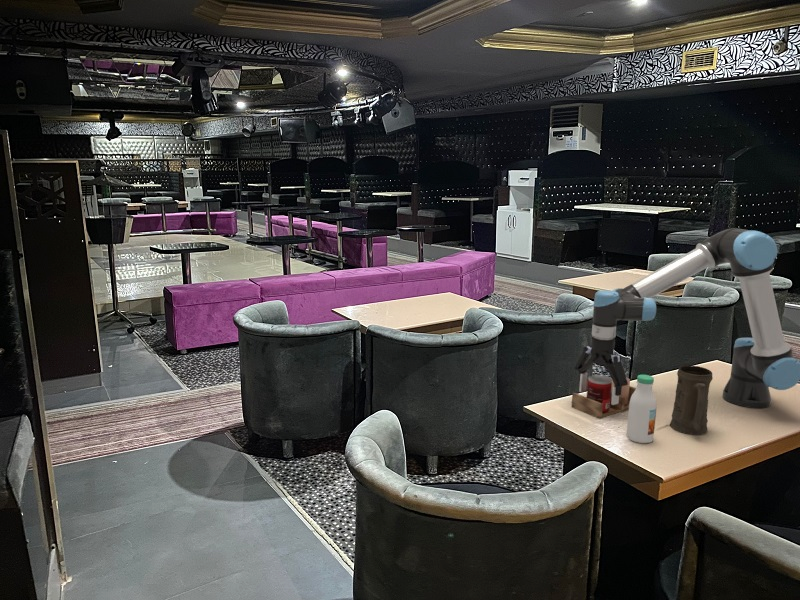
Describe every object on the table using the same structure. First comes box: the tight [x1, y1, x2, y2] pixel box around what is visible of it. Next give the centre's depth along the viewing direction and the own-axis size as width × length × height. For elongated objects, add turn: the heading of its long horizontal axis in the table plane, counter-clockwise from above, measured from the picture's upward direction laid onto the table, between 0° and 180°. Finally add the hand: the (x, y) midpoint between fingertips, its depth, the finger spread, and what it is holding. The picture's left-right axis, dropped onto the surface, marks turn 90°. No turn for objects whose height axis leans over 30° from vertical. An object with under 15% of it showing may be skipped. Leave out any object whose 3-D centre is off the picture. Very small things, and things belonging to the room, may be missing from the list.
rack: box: [571, 386, 637, 420], centre depth 204 cm, size 12×23×6 cm, turn 121°
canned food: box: [586, 374, 612, 413], centre depth 201 cm, size 8×8×11 cm
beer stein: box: [669, 365, 713, 436], centre depth 186 cm, size 15×11×20 cm
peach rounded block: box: [611, 376, 631, 406], centre depth 207 cm, size 6×6×9 cm
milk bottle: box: [626, 374, 657, 444], centre depth 180 cm, size 8×8×20 cm
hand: (598, 397), depth 201 cm, fingers open, 13 cm apart
